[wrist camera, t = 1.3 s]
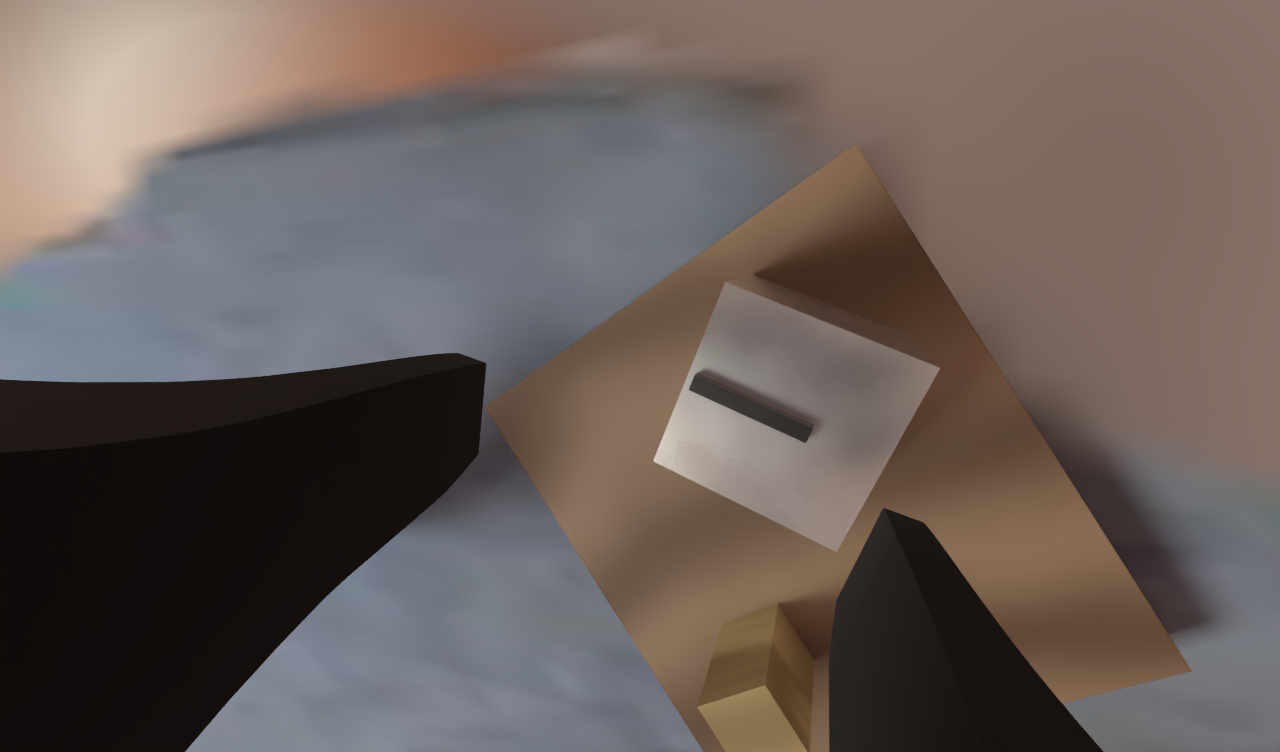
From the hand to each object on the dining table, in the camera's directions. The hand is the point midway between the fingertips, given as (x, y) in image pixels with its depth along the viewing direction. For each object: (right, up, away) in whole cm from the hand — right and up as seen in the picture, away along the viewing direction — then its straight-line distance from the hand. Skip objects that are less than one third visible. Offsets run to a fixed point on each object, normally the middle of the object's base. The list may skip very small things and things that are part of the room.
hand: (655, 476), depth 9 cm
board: (+5, -3, +11) cm, 12 cm away
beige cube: (+5, +2, +8) cm, 10 cm away
